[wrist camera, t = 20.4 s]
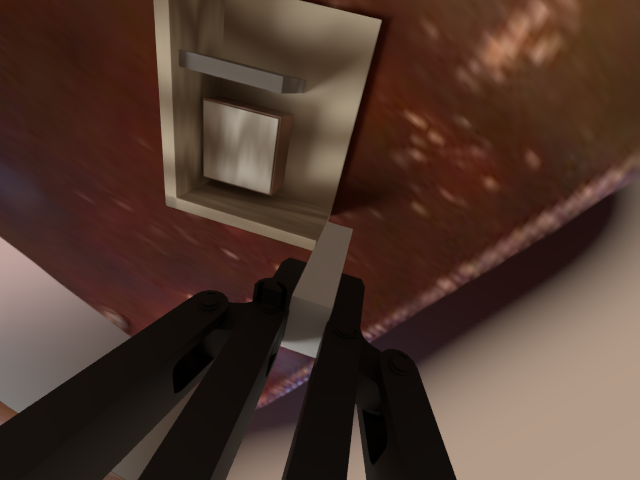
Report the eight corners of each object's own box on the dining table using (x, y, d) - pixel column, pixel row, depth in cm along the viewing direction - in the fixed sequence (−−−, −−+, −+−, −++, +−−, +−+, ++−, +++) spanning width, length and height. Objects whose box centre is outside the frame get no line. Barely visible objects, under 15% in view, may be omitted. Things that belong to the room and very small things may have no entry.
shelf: (219, -17, 27) (149, -62, 19) (381, 22, 25) (379, -9, 18) (213, 181, 37) (166, 205, 29) (330, 216, 35) (313, 251, 28)
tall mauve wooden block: (293, 114, 30) (223, 96, 30) (280, 117, 26) (201, 97, 27) (283, 185, 34) (221, 168, 34) (270, 196, 30) (202, 177, 31)
